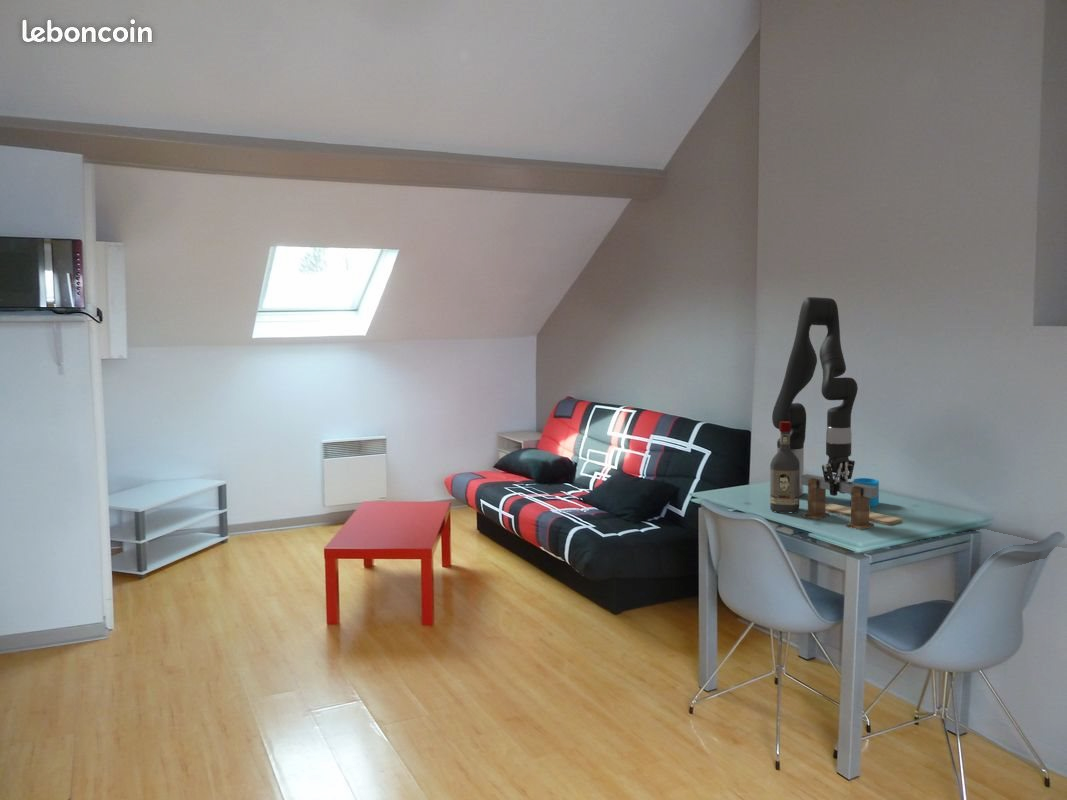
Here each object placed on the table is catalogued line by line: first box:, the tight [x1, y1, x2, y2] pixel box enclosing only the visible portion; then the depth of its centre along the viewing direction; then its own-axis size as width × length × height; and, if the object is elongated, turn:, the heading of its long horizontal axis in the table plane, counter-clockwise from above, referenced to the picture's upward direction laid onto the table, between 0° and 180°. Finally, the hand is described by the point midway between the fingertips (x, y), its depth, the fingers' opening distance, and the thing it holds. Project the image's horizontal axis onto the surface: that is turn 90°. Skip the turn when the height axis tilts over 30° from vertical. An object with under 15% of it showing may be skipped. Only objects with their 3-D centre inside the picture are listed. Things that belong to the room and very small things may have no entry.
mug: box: [849, 477, 880, 507], centre depth 286 cm, size 12×8×8 cm
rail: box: [801, 473, 878, 498], centre depth 262 cm, size 26×3×3 cm, turn 34°
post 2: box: [845, 487, 875, 531], centre depth 256 cm, size 5×7×12 cm
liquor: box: [769, 421, 800, 513], centre depth 277 cm, size 9×9×30 cm
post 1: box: [803, 479, 831, 520], centre depth 269 cm, size 5×7×12 cm
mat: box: [825, 503, 903, 526], centre depth 269 cm, size 26×7×1 cm, turn 34°
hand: (838, 493), depth 262 cm, fingers open, 4 cm apart
